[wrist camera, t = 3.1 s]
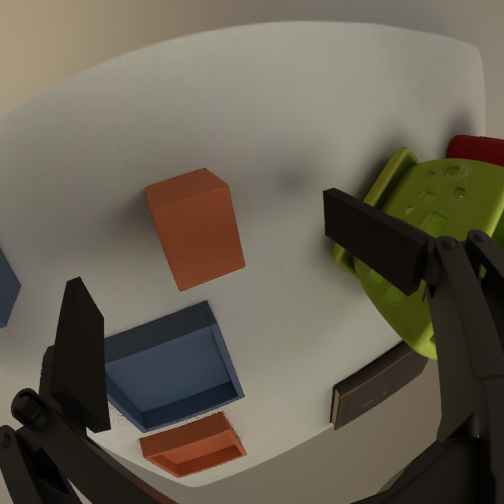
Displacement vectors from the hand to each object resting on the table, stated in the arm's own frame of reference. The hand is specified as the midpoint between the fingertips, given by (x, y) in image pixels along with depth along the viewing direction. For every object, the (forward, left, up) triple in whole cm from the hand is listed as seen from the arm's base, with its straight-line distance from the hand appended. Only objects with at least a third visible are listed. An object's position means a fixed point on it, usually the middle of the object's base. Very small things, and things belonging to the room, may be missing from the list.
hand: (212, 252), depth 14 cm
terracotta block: (0, 0, -6) cm, 6 cm away
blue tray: (-6, -13, -6) cm, 15 cm away
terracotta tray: (-9, -30, -6) cm, 32 cm away
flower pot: (+18, -7, -6) cm, 20 cm away
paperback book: (+24, -40, -6) cm, 47 cm away
